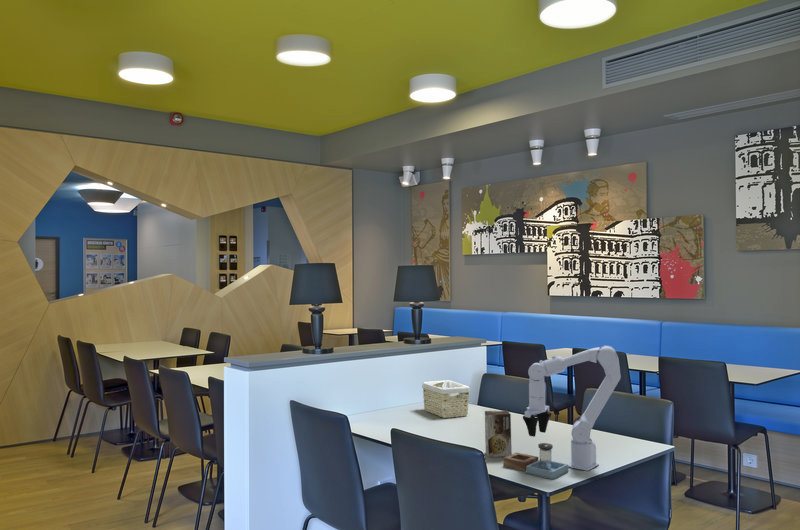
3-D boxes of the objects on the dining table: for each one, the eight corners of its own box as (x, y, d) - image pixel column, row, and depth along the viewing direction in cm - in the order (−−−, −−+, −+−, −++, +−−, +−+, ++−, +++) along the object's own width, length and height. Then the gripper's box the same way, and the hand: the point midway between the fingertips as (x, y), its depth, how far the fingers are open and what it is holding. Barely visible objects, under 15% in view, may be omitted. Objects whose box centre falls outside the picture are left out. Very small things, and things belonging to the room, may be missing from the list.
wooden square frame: (516, 460, 230) (516, 452, 230) (538, 465, 224) (538, 456, 224) (503, 466, 223) (503, 457, 223) (525, 471, 217) (525, 462, 217)
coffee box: (508, 452, 241) (507, 410, 242) (511, 456, 235) (511, 413, 235) (484, 452, 241) (484, 410, 241) (487, 457, 234) (487, 414, 235)
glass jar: (542, 467, 219) (542, 442, 219) (555, 470, 216) (555, 444, 216) (535, 470, 216) (535, 445, 216) (548, 473, 212) (548, 447, 212)
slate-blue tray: (542, 466, 223) (542, 459, 223) (568, 471, 216) (568, 464, 216) (526, 473, 214) (526, 466, 215) (552, 479, 208) (552, 471, 208)
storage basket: (421, 410, 320) (420, 381, 320) (449, 407, 326) (449, 379, 326) (441, 419, 298) (441, 388, 298) (471, 416, 304) (471, 386, 304)
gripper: (537, 392, 235) (537, 428, 235) (517, 398, 224) (517, 436, 224) (554, 394, 230) (554, 431, 230) (534, 400, 220) (534, 439, 219)
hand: (537, 434), depth 227 cm, fingers open, 7 cm apart
